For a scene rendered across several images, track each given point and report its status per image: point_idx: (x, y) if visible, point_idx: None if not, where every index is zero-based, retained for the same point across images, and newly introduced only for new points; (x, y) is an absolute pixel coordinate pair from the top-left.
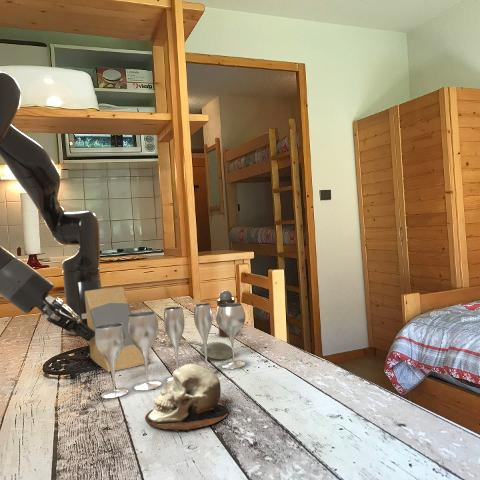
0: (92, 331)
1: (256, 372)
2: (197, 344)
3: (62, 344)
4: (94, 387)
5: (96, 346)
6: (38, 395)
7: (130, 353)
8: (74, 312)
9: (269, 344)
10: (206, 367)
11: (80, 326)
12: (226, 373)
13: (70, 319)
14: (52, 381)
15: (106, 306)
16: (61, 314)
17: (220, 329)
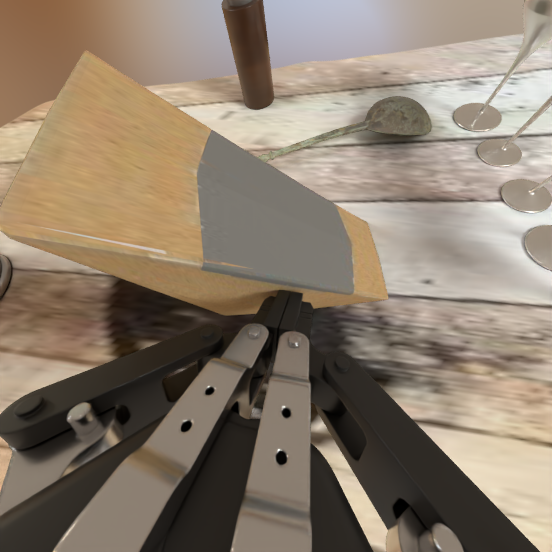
0: (301, 297)
1: (543, 100)
2: (347, 132)
3: (35, 354)
4: (509, 346)
5: None
6: (521, 496)
7: (360, 239)
8: (166, 345)
9: (371, 67)
10: (508, 145)
11: (308, 338)
12: (526, 132)
13: (390, 404)
14: None
15: (212, 196)
16: (504, 523)
17: (260, 93)
